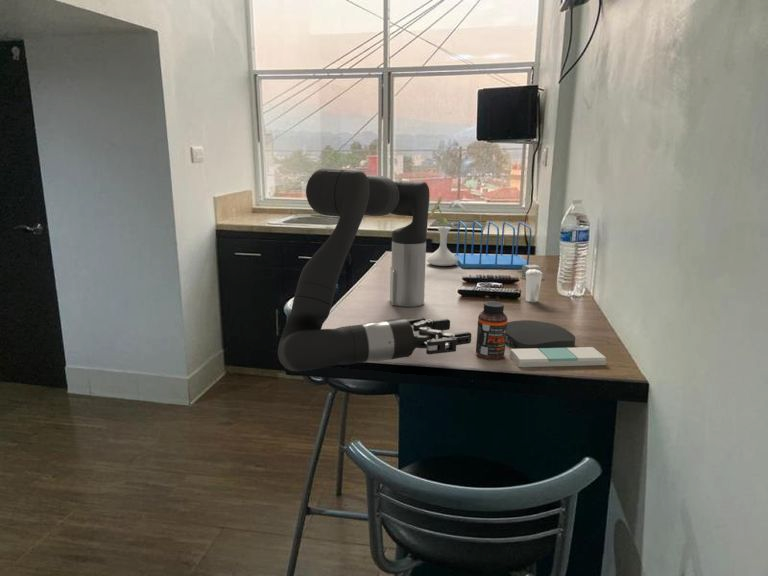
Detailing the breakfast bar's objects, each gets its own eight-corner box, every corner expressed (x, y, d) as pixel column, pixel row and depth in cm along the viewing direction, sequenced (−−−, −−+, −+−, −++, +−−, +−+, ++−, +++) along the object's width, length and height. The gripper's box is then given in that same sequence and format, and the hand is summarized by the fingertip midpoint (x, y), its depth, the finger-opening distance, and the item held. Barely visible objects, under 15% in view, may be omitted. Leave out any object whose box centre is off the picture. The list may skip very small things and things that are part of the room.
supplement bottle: (487, 362, 110) (491, 309, 107) (469, 353, 115) (472, 301, 113) (510, 358, 113) (514, 305, 110) (492, 348, 118) (495, 298, 115)
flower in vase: (436, 260, 208) (439, 194, 202) (463, 264, 201) (467, 196, 195) (418, 266, 198) (420, 196, 191) (446, 270, 191) (449, 198, 185)
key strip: (518, 367, 108) (519, 359, 108) (509, 355, 114) (509, 348, 114) (605, 365, 110) (606, 357, 110) (592, 354, 116) (592, 346, 115)
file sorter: (461, 269, 195) (463, 226, 191) (453, 259, 212) (455, 219, 208) (530, 269, 196) (534, 226, 192) (517, 259, 213) (520, 220, 209)
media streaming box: (581, 350, 119) (583, 337, 118) (522, 356, 115) (523, 343, 114) (544, 328, 132) (545, 317, 132) (489, 333, 128) (490, 321, 128)
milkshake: (543, 303, 152) (546, 268, 150) (523, 302, 153) (526, 267, 151) (542, 299, 157) (545, 265, 154) (523, 298, 158) (525, 264, 155)
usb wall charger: (539, 278, 182) (540, 266, 181) (521, 279, 180) (522, 267, 179) (532, 275, 186) (533, 264, 185) (514, 277, 184) (515, 265, 182)
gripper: (400, 333, 97) (479, 323, 102) (371, 310, 109) (443, 303, 115) (399, 372, 98) (477, 360, 104) (371, 346, 111) (442, 336, 117)
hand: (459, 330), depth 110 cm, fingers open, 8 cm apart
